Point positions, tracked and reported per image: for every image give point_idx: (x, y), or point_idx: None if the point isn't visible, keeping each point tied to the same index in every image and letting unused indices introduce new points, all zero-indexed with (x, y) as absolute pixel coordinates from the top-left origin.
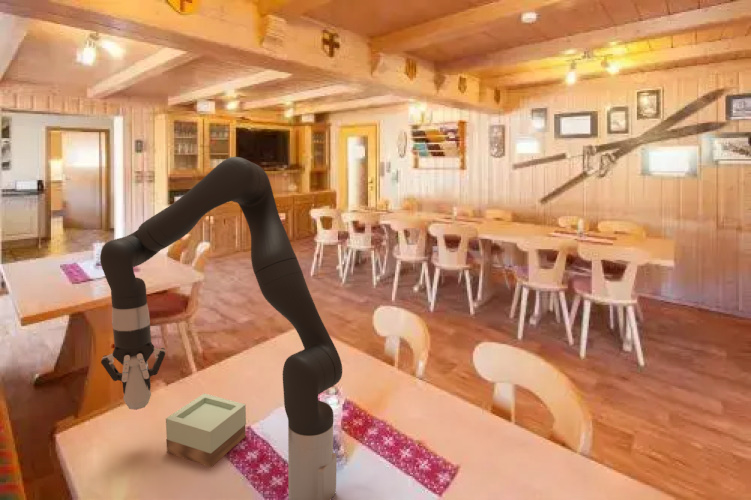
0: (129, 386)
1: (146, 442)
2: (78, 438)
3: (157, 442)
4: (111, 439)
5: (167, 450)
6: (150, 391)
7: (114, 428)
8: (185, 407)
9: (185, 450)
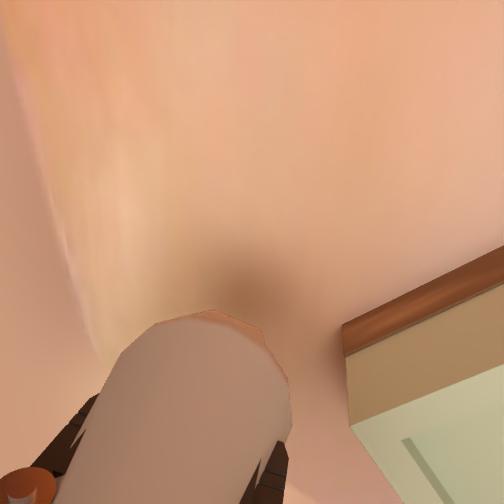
0: None
1: (290, 221)
2: (59, 42)
3: (327, 244)
4: (174, 123)
5: (343, 330)
6: (285, 440)
7: (187, 31)
8: (482, 387)
9: None
